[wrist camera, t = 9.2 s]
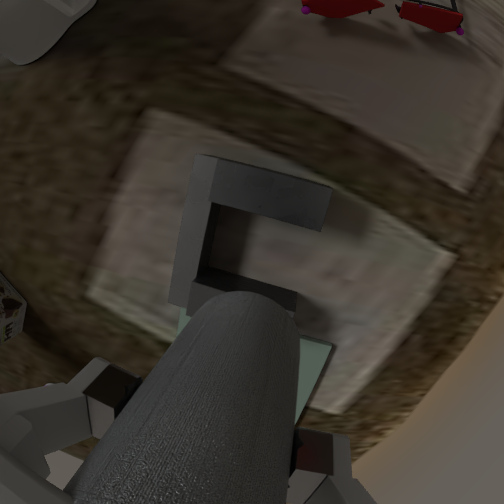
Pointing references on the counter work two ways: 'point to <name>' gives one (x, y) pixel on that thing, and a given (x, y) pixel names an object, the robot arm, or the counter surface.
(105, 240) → the counter surface
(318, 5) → the glasses
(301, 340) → the mat
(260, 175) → the grey tube mount
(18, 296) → the coffee box
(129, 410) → the grey cylinder
